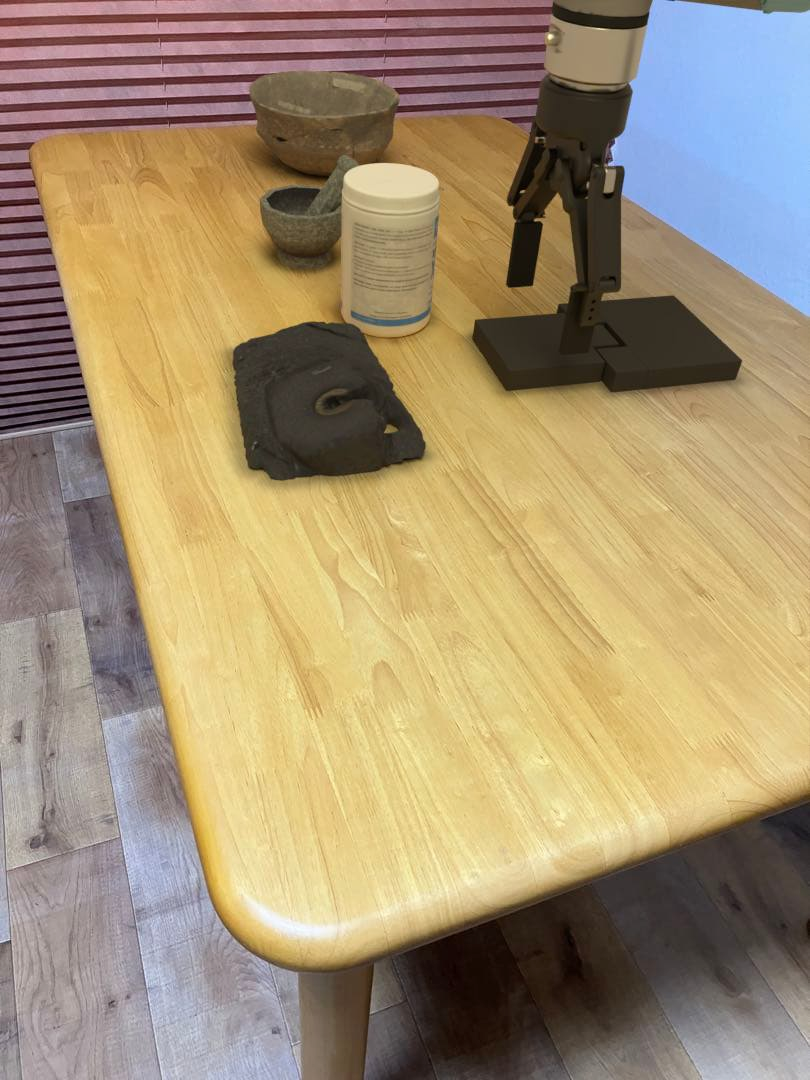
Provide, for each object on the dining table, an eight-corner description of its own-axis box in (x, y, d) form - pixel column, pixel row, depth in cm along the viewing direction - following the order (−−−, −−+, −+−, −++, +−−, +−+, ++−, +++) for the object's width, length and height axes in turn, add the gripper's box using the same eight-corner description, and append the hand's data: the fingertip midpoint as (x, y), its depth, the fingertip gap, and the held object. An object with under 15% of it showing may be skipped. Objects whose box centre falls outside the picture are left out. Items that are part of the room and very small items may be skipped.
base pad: (667, 315, 98) (674, 295, 96) (734, 381, 88) (743, 360, 87) (553, 324, 95) (558, 303, 93) (610, 395, 85) (616, 372, 83)
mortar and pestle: (258, 275, 98) (253, 166, 90) (265, 240, 105) (261, 136, 97) (358, 280, 99) (362, 172, 91) (358, 245, 106) (361, 142, 98)
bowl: (222, 156, 125) (217, 80, 118) (333, 133, 136) (334, 62, 129) (312, 204, 114) (312, 124, 107) (425, 174, 125) (431, 100, 119)
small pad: (585, 331, 94) (590, 310, 92) (627, 381, 87) (633, 359, 85) (471, 341, 91) (474, 319, 89) (505, 393, 84) (509, 370, 82)
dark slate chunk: (377, 340, 89) (379, 297, 86) (432, 471, 74) (437, 424, 71) (226, 349, 86) (222, 305, 83) (249, 488, 70) (246, 440, 67)
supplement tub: (447, 328, 92) (463, 188, 82) (372, 350, 88) (379, 205, 78) (395, 290, 98) (404, 155, 88) (322, 309, 93) (323, 168, 84)
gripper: (491, 39, 78) (467, 264, 93) (614, 129, 61) (560, 389, 75) (567, 39, 80) (532, 259, 95) (708, 126, 63) (638, 380, 77)
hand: (544, 317), depth 85 cm, fingers open, 13 cm apart
